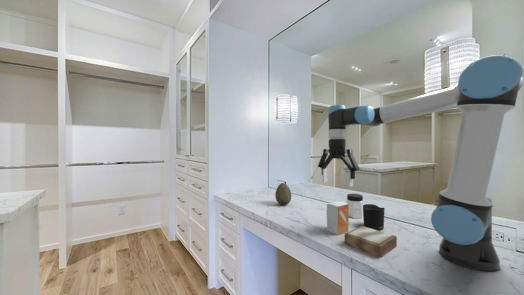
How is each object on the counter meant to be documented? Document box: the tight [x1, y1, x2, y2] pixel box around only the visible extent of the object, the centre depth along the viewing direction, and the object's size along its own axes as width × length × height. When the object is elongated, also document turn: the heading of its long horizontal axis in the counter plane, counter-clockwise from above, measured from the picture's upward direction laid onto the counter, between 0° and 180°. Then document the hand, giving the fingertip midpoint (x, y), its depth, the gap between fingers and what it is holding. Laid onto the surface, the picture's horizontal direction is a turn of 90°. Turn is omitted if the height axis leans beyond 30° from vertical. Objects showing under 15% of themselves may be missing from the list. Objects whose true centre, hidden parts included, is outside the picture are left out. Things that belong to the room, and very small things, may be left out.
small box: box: [326, 200, 350, 236], centre depth 99 cm, size 8×6×13 cm
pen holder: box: [362, 203, 385, 231], centre depth 103 cm, size 9×9×10 cm
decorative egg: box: [274, 182, 292, 206], centre depth 143 cm, size 11×11×15 cm
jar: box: [346, 193, 364, 220], centre depth 119 cm, size 9×8×12 cm
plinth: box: [344, 225, 398, 258], centre depth 85 cm, size 14×14×4 cm
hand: (337, 184), depth 99 cm, fingers open, 13 cm apart
